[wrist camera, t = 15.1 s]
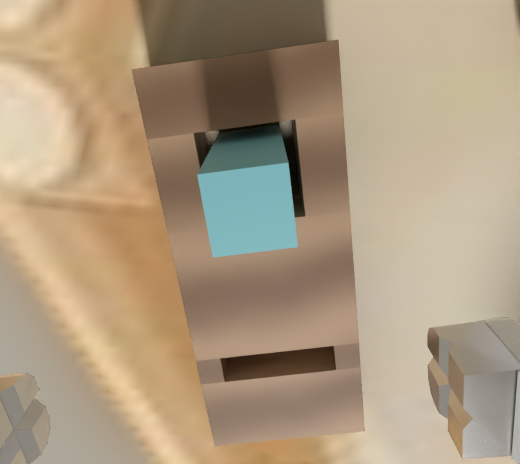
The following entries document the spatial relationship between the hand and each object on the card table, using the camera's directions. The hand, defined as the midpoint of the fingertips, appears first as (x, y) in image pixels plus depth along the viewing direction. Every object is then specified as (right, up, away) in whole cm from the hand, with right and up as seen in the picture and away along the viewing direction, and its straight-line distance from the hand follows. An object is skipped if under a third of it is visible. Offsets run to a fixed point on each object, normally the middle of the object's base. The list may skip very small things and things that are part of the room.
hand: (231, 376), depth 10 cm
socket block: (+1, +2, +21) cm, 21 cm away
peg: (0, +7, +19) cm, 20 cm away
